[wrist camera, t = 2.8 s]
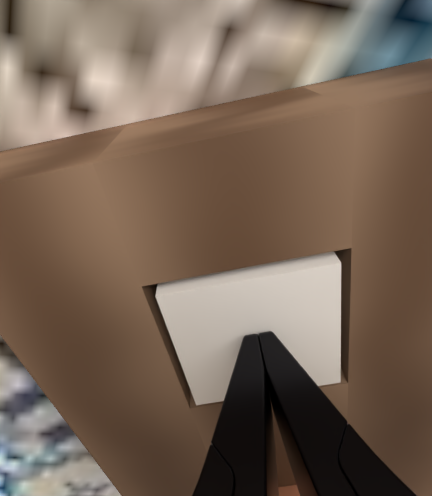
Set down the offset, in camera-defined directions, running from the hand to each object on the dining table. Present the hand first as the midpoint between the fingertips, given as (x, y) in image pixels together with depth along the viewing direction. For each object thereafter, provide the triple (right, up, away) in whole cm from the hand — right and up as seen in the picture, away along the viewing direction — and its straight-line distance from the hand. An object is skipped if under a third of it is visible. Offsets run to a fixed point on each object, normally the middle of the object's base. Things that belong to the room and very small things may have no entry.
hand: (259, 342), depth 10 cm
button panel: (+1, -3, +7) cm, 7 cm away
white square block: (0, +2, +3) cm, 4 cm away
